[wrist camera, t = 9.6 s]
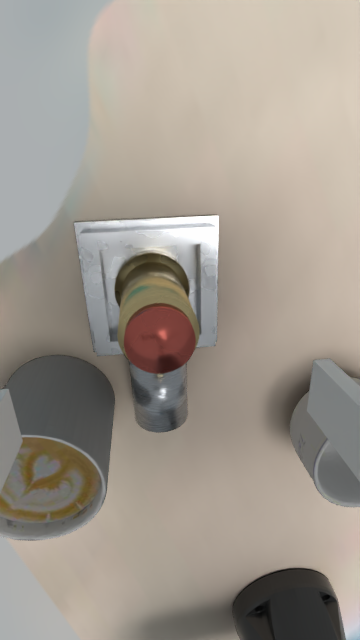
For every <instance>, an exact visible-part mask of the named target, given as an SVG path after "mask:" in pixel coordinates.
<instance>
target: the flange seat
mask: <svg viewBox="0 0 360 640" xmlns="http://www.w3.org/2000/svg"><path fill="white" fill-rule="evenodd" d="M218 226H219V216H218V215H204V216H183V217H162V218H142V219H121V220H100V221H80V222H74V227H75V233H76V240H77V246H78V253H79V259H80V266H81V272H82V279H83V285H84V292H85V298H86V305H87V311H88V318H89V324H90V331H91V337H92V344H93V350H94V352H97V356H106V355H117V354H123V352H122V351H121V349H120V346H119V343H118V337H117V332H118V323H119V314H120V308H119V306H118V304H117V302H116V299H115V291H114V289H115V281H116V277H117V274H118V272H119V270H120V268H121V267H122V265H123V264H124V263H125V262H126V261H127V260H128V259H130V258H131V257H133V256H134V255H137V254H139V253H143V252H148V251H155V252H161V253H164V254H167V255H169V256H171V257H172V258H174V259H175V260H176V261H177V262H178V263H179V264H180V265H181V266H182V268H183V269H184V271H185V273H186V275H187V278H188V281H189V286H190V293H189V298H188V299H189V302H190V304H191V306H192V309H193V311H194V313H195V316H196V318H197V321H198V324H199V330H200V334H199V341H198V344H197V346H196V348H198V347H209V346H215V342H217V300H218ZM129 364H130V373H131V382H132V392H133V401H134V410H135V419H136V422H137V424H138V425H139V426H140V427H142V428H143V429H145V430H148V431H151V432H168V431H171V430H174V429H176V428H178V427H180V426H181V425H182V424H183V423H184V422H185V421H186V419H187V416H188V404H187V369H186V363H185V364H184V365H183V366H181V367H180V368H178V369H176V370H174V371H172V372H168V373H162V374H155V373H149V372H146V371H143V370H141V369H139V368H137V367H136V366H135V365H134V364H133V363H132V362H131V361H129Z"/></svg>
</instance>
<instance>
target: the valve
mask: <svg viewBox="0 0 360 640" xmlns="http://www.w3.org/2000/svg"><path fill="white" fill-rule="evenodd" d="M114 291H115V299H116V302H117V304H118V306H119V308H120V314H119V323H118V332H117V337H118V343H119V346H120V349H121V351H122V352H123V354H124V355H125V357H126V358H127V359H128V360H129V361H131V362H132V363H133V364H134V365H135V366H136V367H137V368H139V369H141V370H143V371H146V372H149V373H155V374H162V373H168V372H172V371H174V370H176V369H178V368H180V367H181V366H183V365H184V364H185V363H186V362H187V361H188V360H189V359H190V357H191V356H192V354H193V352H194V350H195V348H196V346H197V344H198V341H199V334H200V330H199V324H198V321H197V318H196V316H195V313H194V311H193V309H192V306H191V304H190V302H189V299H188V298H189V293H190V286H189V281H188V278H187V275H186V273H185V271H184V269H183V268H182V266H181V265H180V264H179V263H178V262H177V261H176V260H175V259H174V258H172V257H171V256H169V255H167V254H164V253H161V252H155V251H148V252H143V253H139V254H137V255H134V256H133V257H131V258H130V259H128V260H127V261H126V262H125V263H124V264H123V265H122V267H121V268H120V270H119V272H118V274H117V277H116V281H115V289H114Z"/></svg>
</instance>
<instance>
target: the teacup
mask: <svg viewBox="0 0 360 640" xmlns="http://www.w3.org/2000/svg"><path fill="white" fill-rule="evenodd" d="M350 378H351V379H352V380H354V381H355V382H356V383H357V384H358V385H359V386H360V379H359V378H353V377H350ZM308 398H309V391H308V392H307V393H306V394H305V395H304V396H303V397H302V398H301V400H300V401H299V402H298V404H297V405H296V407H295V409H294V411H293V414H292V417H291V422H290V435H291V440H292V443H293V446H294V448H295V450H296V452H297V454H298V456H299V458H300V460H301V461H302V463H303V465H304V466H305V468H306V470H307V471H308V473H309V475H310V476H311V478H312V479H313V481H314V484H315V486H316V488H317V490H318V491H319V493H320V494H321V495H322V496H323V497H324V498H325V499H327V500H328V501H329V502H331V503H334V504H336V505H340V506H344V507H360V482H359V480H358V479H357V477H356V476H355V475H354V473H353V472H352V471H351V469H350V468H349V467H348V465H347V464H346V463H345V461H344V460H343V459H342V457H341V456H340V455H339V453H338V452H337V451H336V449H335V448H334V447H333V445H332V444H331V442H330V441H329V440H328V438H327V437H326V436H325V434H324V433H323V432H322V430H321V429H320V428H319V426H318V425H317V424H316V422H315V421H314V420H313V418H312V417H311V416H310V414H309V413H308V412H307V405H308Z"/></svg>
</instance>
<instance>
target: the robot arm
mask: <svg viewBox="0 0 360 640" xmlns="http://www.w3.org/2000/svg"><path fill="white" fill-rule="evenodd" d="M307 412H308V413H309V414H310V416H311V417H312V418H313V420H314V421H315V422H316V424H317V425H318V426H319V428H320V429H321V430H322V432H323V433H324V434H325V436H326V437H327V438H328V440H329V441H330V442H331V444H332V445H333V447H334V448H335V449H336V451H337V452H338V453H339V455H340V456H341V457H342V459H343V460H344V461H345V463H346V464H347V465H348V467H349V468H350V469H351V471H352V472H353V473H354V475H355V476H356V477H357V479H358V480H359V482H360V386H359V385H358V384H357V383H356V382H355V381H354V380H352V379H351V378H350V377H349V376H348V375H347V374H346V373H345V372H344V371H343V370H342V369H341V368H339V367H338V366H337V365H336V364H335V363H334V362H333V361H332V360H331V359H321V360H314V361H313V368H312V375H311V383H310V390H309V398H308V405H307ZM22 442H23V440H22V437H21V433H20V429H19V426H18V422H17V418H16V415H15V411H14V407H13V404H12V400H11V396H10V393H9V389H0V493H1V490H2V488H3V486H4V483H5V481H6V479H7V477H8V474H9V472H10V470H11V467H12V465H13V463H14V460H15V458H16V456H17V454H18V451H19V449H20V447H21V444H22ZM233 617H234V621H235V626H236V630H237V633H238V636H239V638H240V640H346V638H345V633H344V627H343V622H342V617H341V612H340V607H339V602H338V599H337V597H336V594H335V592H334V590H333V588H332V586H331V584H330V582H329V580H328V579H327V578H326V577H325V576H324V575H322V574H320V573H318V572H315V571H311V570H304V569H294V570H286V571H281V572H277V573H274V574H271V575H268V576H266V577H263V578H261V579H259V580H257V581H256V582H254V583H252V584H251V585H250V586H248V587H247V588H246V589H245V590H243V591H242V592H241V594H240V595H239V596H238V597H237V599H236V600H235V603H234V605H233Z"/></svg>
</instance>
